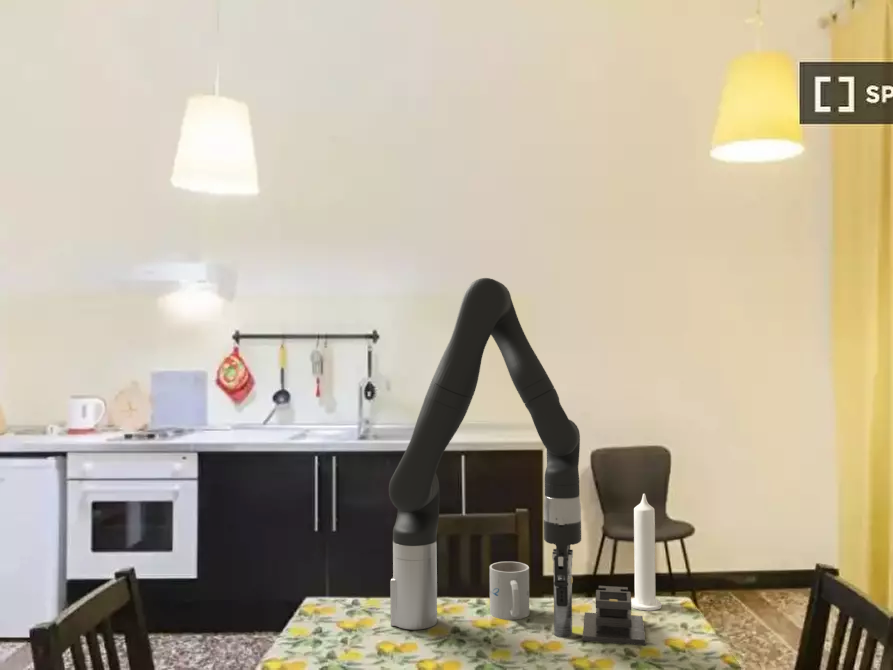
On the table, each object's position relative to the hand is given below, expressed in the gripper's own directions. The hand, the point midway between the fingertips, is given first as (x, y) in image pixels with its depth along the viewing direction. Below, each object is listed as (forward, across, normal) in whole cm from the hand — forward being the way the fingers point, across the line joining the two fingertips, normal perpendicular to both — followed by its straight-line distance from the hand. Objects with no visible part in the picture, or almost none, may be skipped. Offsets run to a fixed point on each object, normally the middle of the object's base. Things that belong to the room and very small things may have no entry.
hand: (563, 599), depth 160 cm
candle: (+7, -21, +17) cm, 28 cm away
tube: (+7, 0, 0) cm, 7 cm away
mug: (+7, -9, -12) cm, 17 cm away
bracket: (+7, -4, +10) cm, 13 cm away
